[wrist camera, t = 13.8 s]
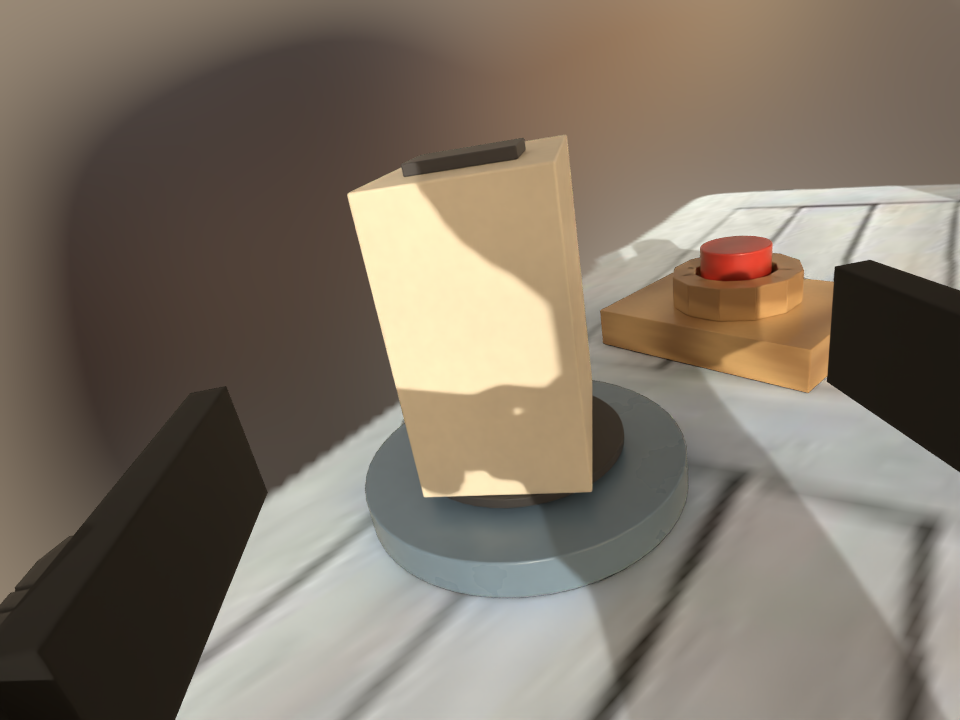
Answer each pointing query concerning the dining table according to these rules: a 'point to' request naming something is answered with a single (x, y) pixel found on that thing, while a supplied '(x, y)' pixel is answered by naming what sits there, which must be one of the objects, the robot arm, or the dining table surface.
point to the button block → (731, 323)
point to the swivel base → (536, 515)
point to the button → (736, 258)
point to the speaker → (488, 322)
